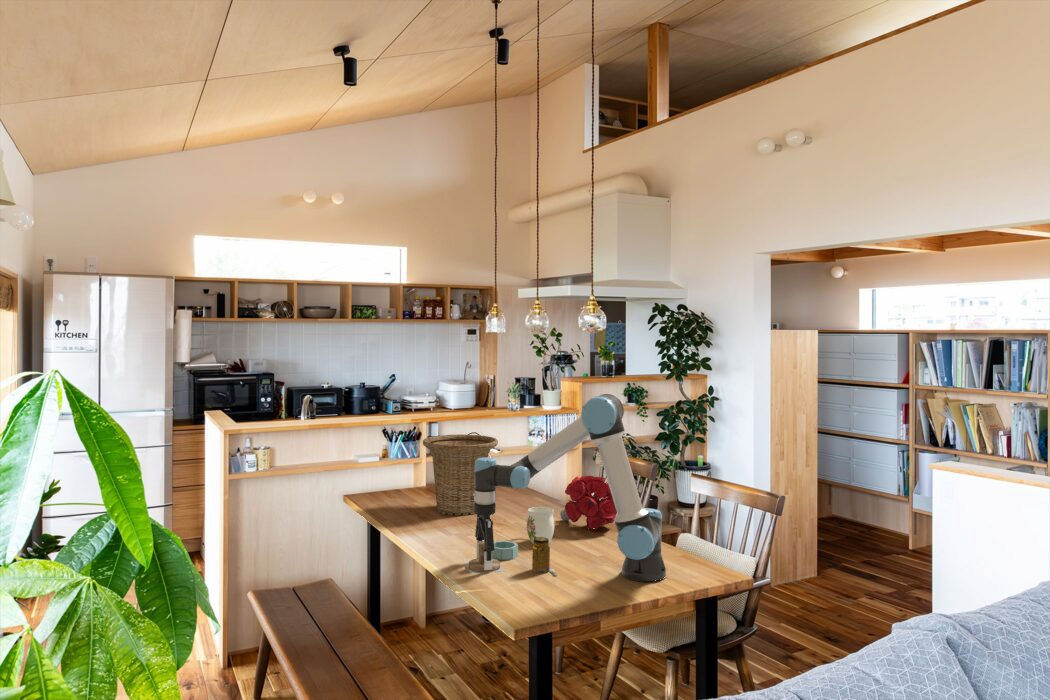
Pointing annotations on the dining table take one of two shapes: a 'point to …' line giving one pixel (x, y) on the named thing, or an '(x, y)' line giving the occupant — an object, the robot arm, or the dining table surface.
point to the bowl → (505, 550)
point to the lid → (482, 562)
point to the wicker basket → (456, 469)
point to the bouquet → (589, 502)
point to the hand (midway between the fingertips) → (484, 564)
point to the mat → (482, 572)
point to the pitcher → (540, 523)
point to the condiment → (541, 556)
